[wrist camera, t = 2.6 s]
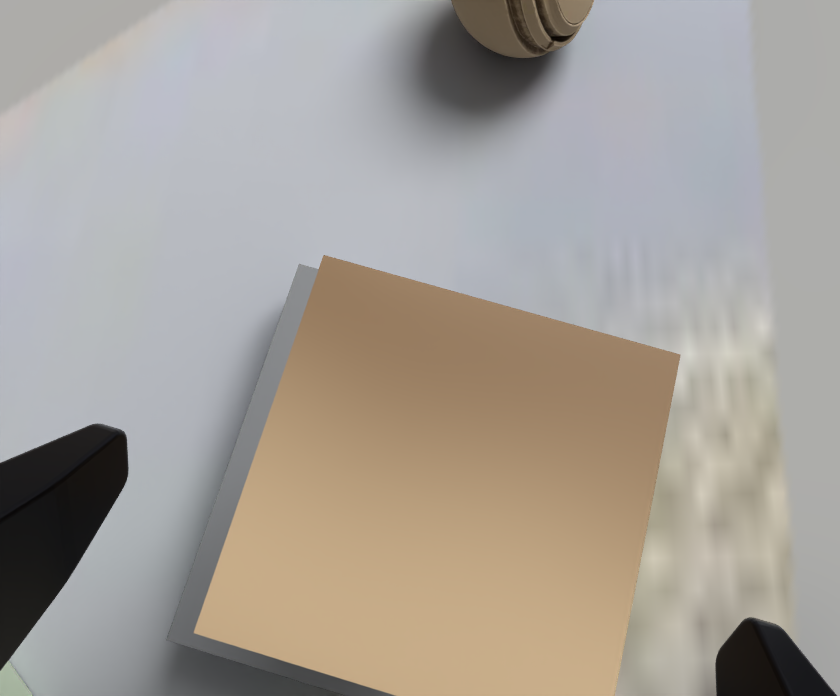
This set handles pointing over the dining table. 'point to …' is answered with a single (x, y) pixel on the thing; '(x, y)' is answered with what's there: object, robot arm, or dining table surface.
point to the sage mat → (12, 683)
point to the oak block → (445, 496)
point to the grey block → (229, 500)
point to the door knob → (522, 24)
